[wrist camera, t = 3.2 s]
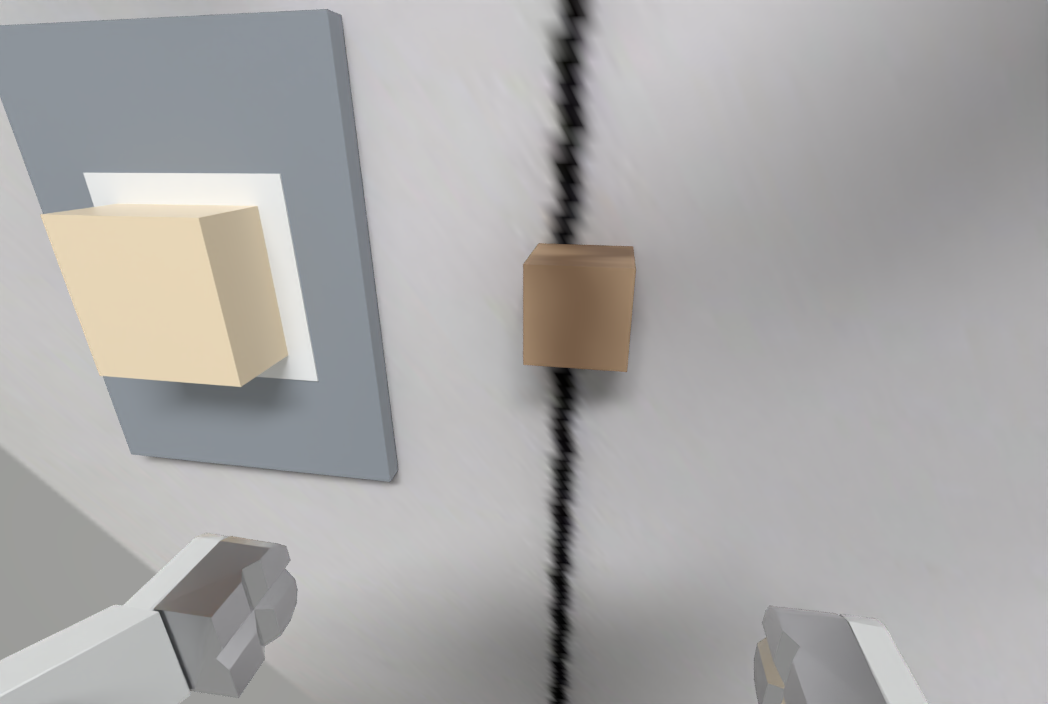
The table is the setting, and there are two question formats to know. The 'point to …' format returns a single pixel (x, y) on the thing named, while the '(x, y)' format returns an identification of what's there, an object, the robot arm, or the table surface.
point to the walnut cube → (578, 306)
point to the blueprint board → (224, 129)
